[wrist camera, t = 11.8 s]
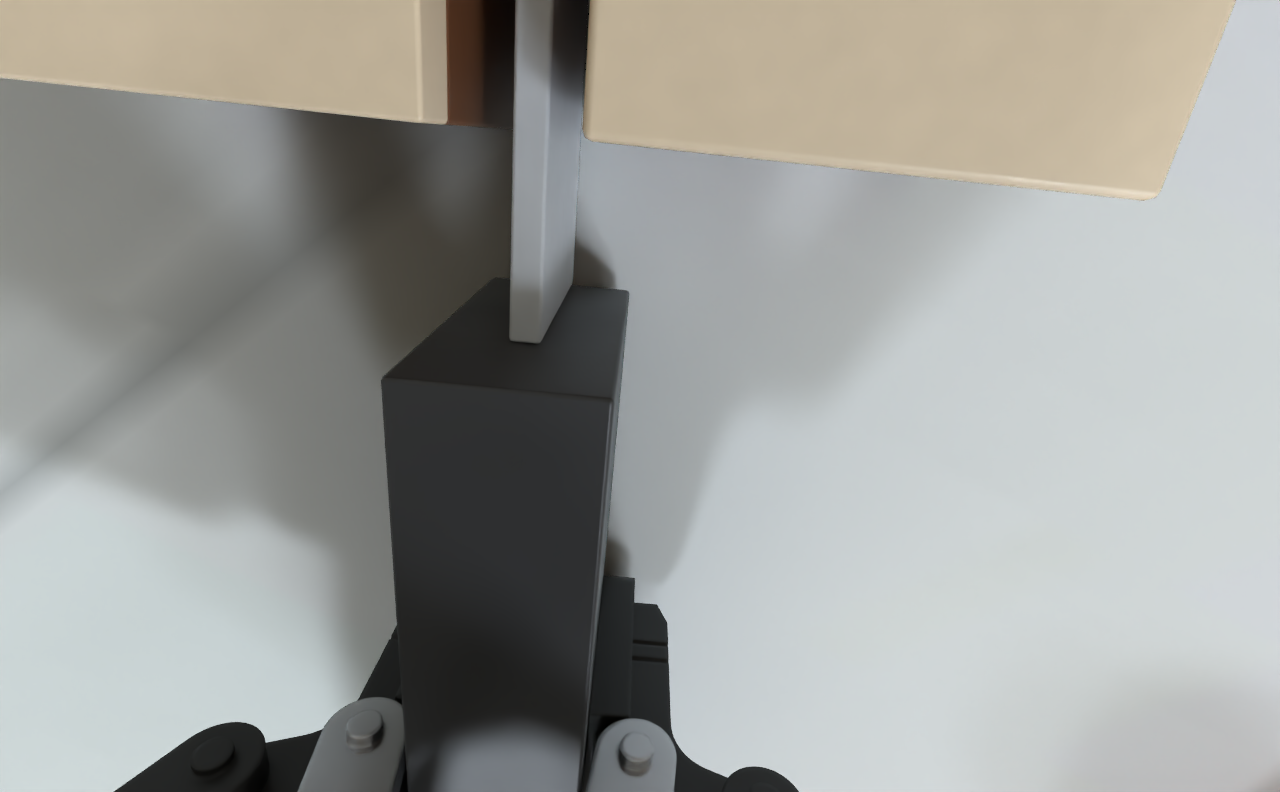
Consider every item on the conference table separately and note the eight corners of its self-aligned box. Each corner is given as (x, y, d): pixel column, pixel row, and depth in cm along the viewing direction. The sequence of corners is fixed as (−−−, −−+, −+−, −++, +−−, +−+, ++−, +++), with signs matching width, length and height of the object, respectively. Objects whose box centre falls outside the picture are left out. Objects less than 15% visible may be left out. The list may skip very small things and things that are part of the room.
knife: (581, 819, 16) (554, 1087, 12) (489, 812, 16) (425, 1079, 12) (696, -441, 8) (768, -1334, 3) (498, -465, 8) (258, -1419, 3)
